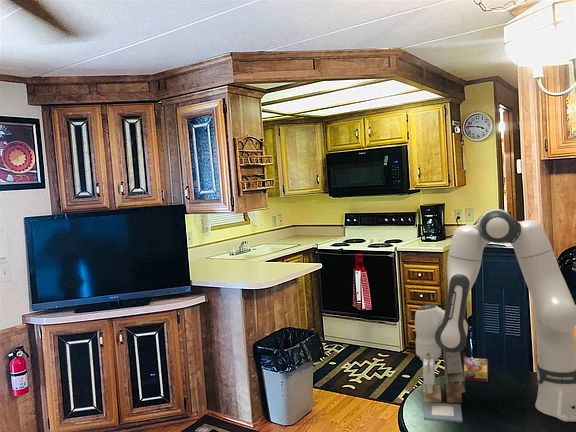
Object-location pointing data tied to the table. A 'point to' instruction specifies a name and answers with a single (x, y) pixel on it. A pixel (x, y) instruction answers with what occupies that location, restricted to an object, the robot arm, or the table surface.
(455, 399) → the walnut cube
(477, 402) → the table surface
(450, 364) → the coffee box
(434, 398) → the oak block
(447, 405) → the plate
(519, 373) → the table surface
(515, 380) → the table surface
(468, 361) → the candy box
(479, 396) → the table surface
